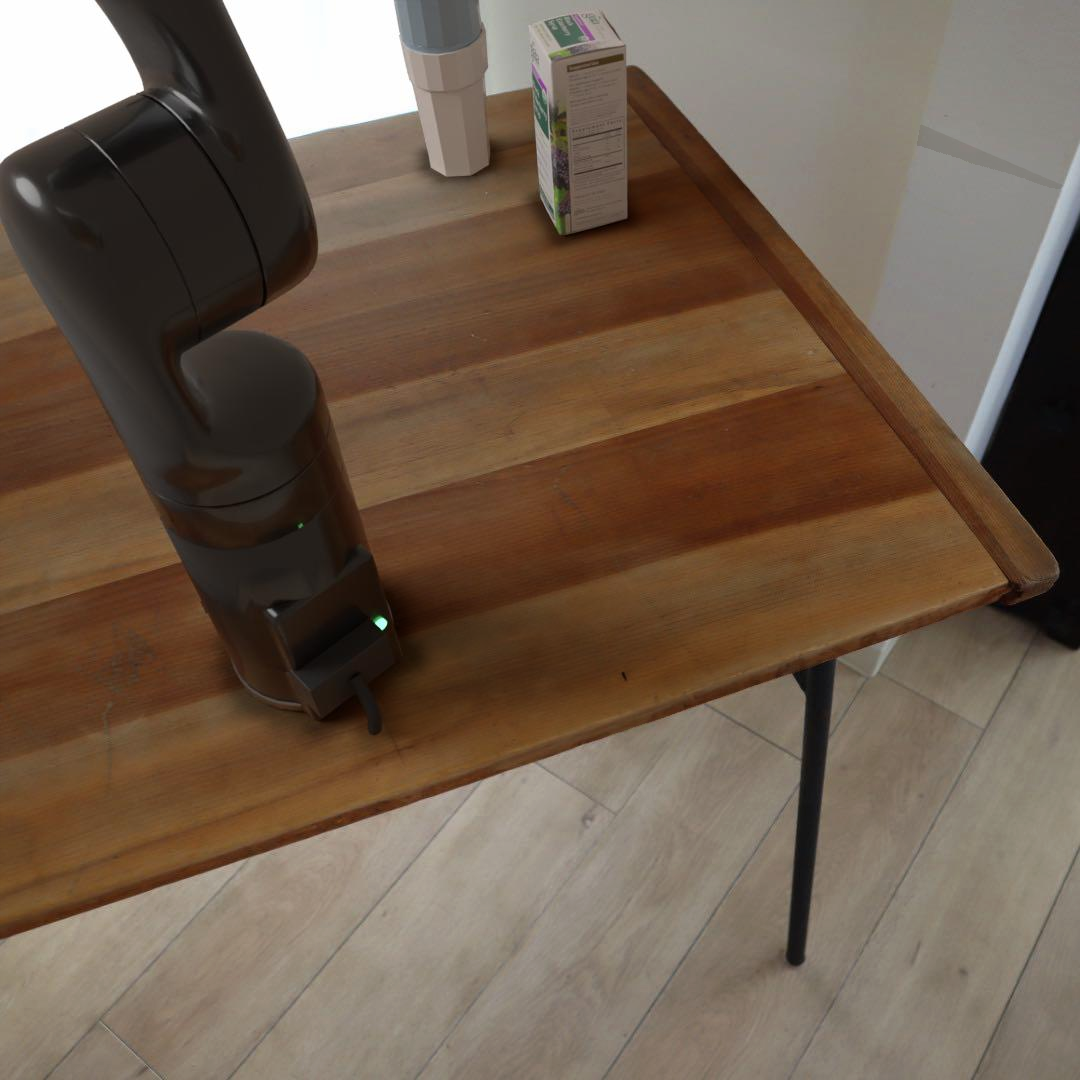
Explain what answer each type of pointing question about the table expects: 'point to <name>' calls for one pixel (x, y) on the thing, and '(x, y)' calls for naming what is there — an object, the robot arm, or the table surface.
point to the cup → (452, 105)
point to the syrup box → (580, 119)
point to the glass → (438, 24)
